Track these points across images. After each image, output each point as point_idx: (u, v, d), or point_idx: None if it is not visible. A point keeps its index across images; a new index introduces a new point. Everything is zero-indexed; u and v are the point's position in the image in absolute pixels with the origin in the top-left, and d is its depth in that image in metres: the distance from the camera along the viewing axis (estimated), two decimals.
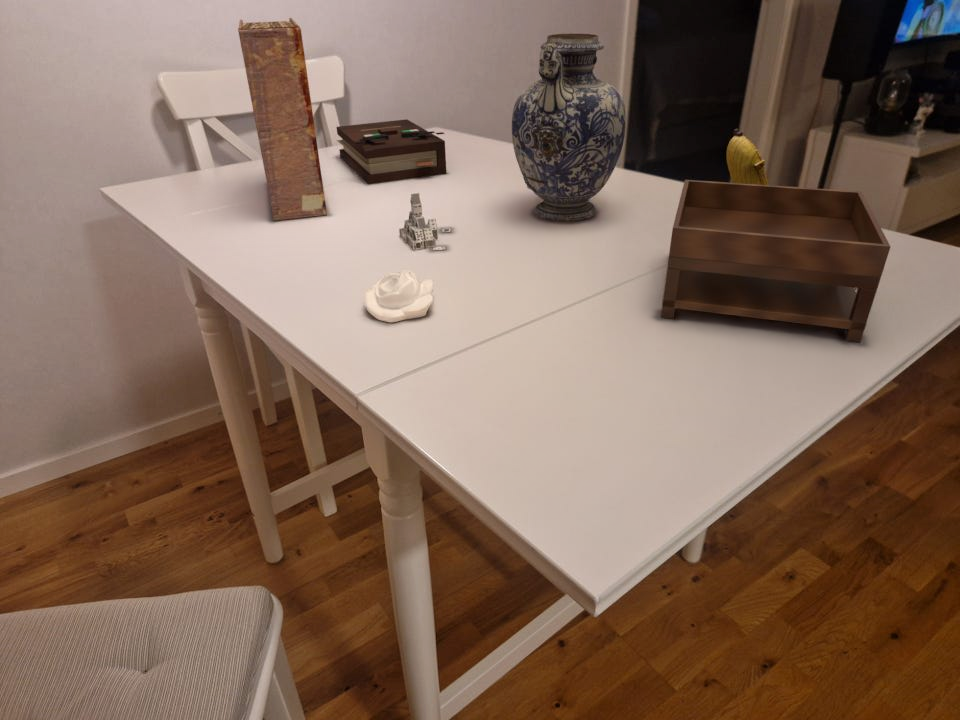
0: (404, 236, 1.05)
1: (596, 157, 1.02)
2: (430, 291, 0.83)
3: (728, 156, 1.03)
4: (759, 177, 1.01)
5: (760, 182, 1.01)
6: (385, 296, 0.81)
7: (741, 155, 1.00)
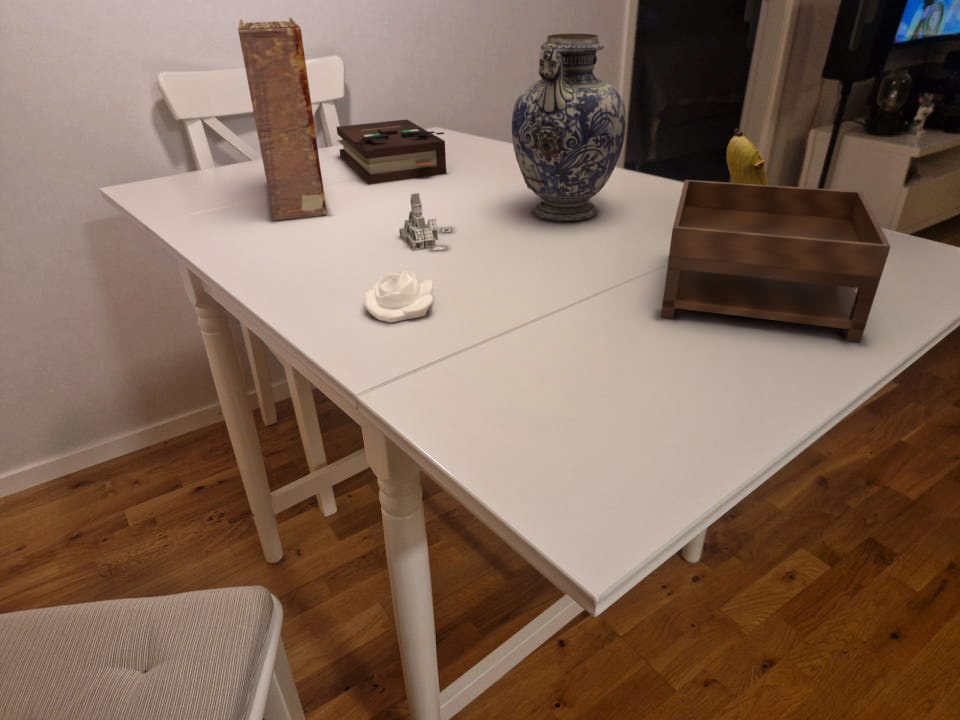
0: (404, 236, 1.05)
1: (596, 157, 1.02)
2: (430, 291, 0.83)
3: (728, 156, 1.03)
4: (759, 177, 1.01)
5: (760, 182, 1.01)
6: (385, 296, 0.81)
7: (741, 155, 1.00)
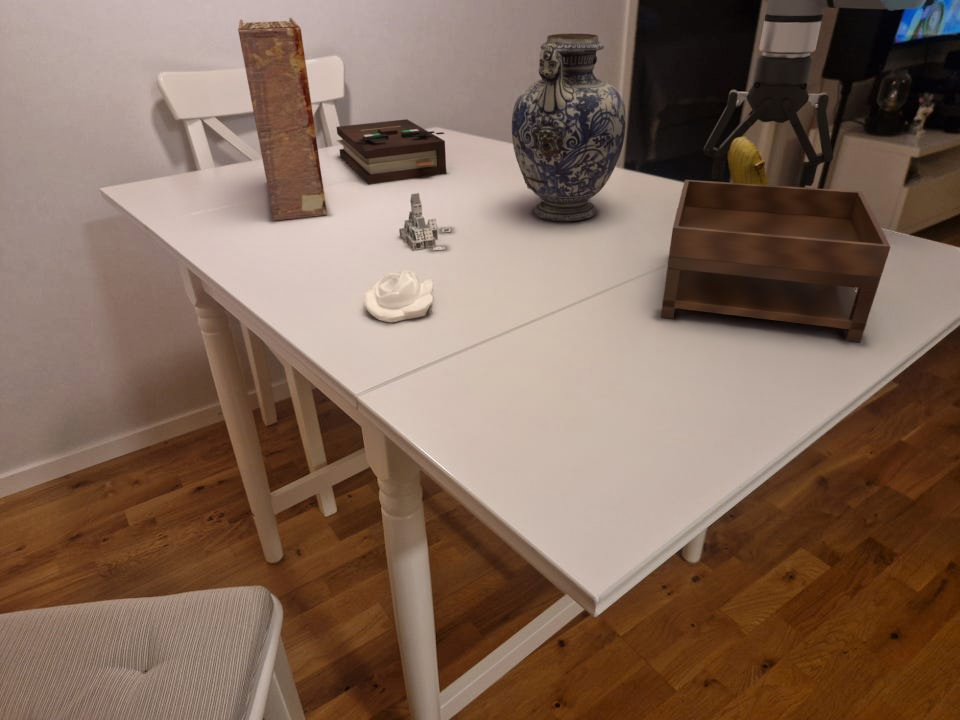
0: (404, 236, 1.05)
1: (596, 157, 1.02)
2: (430, 291, 0.83)
3: (728, 156, 1.03)
4: (759, 177, 1.01)
5: (761, 182, 1.01)
6: (385, 296, 0.81)
7: (742, 154, 1.00)
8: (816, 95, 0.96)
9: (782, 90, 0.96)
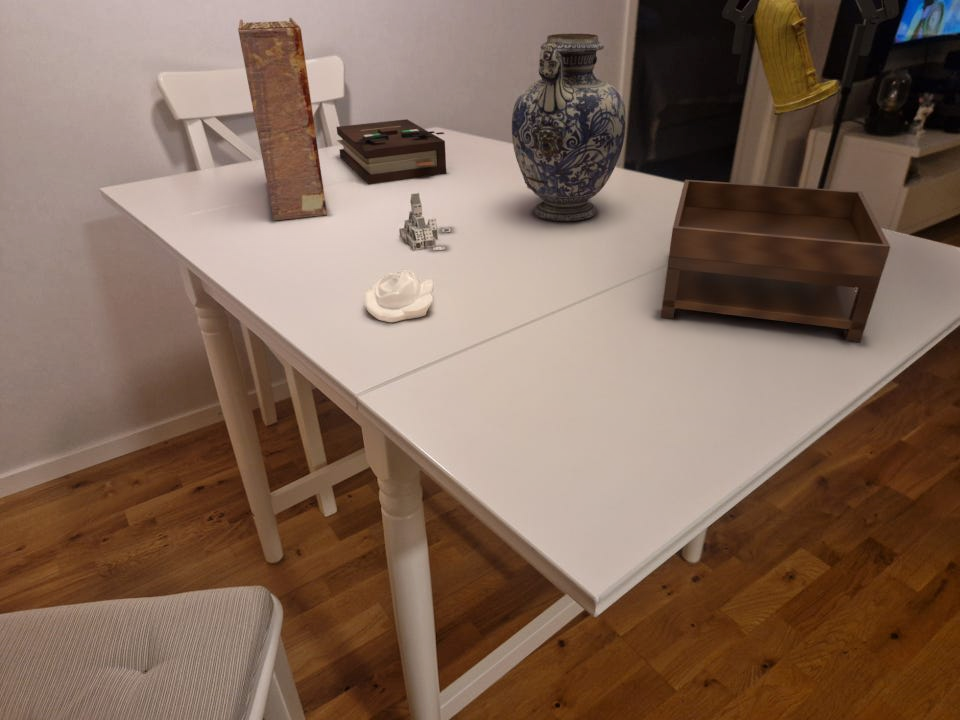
0: (404, 236, 1.05)
1: (596, 157, 1.02)
2: (430, 291, 0.83)
3: (756, 18, 0.77)
4: (798, 43, 0.75)
5: (799, 50, 0.76)
6: (385, 296, 0.81)
7: (774, 11, 0.75)
8: None
9: None
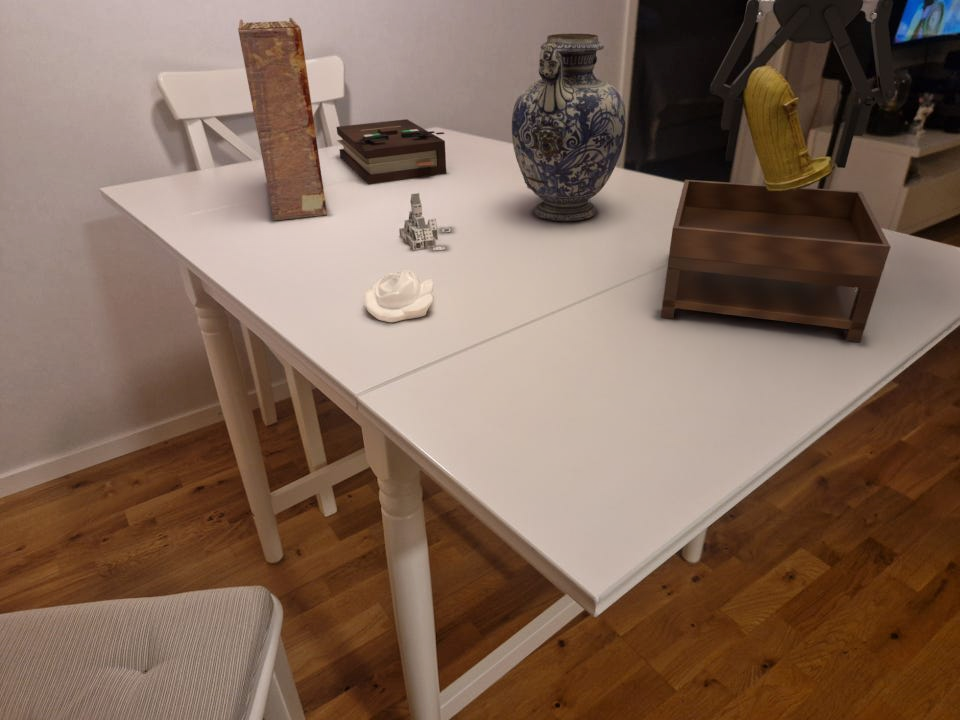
0: (404, 236, 1.05)
1: (596, 157, 1.02)
2: (430, 291, 0.83)
3: (745, 95, 0.73)
4: (790, 123, 0.71)
5: (791, 130, 0.72)
6: (385, 296, 0.81)
7: (765, 91, 0.71)
8: (874, 0, 0.66)
9: None
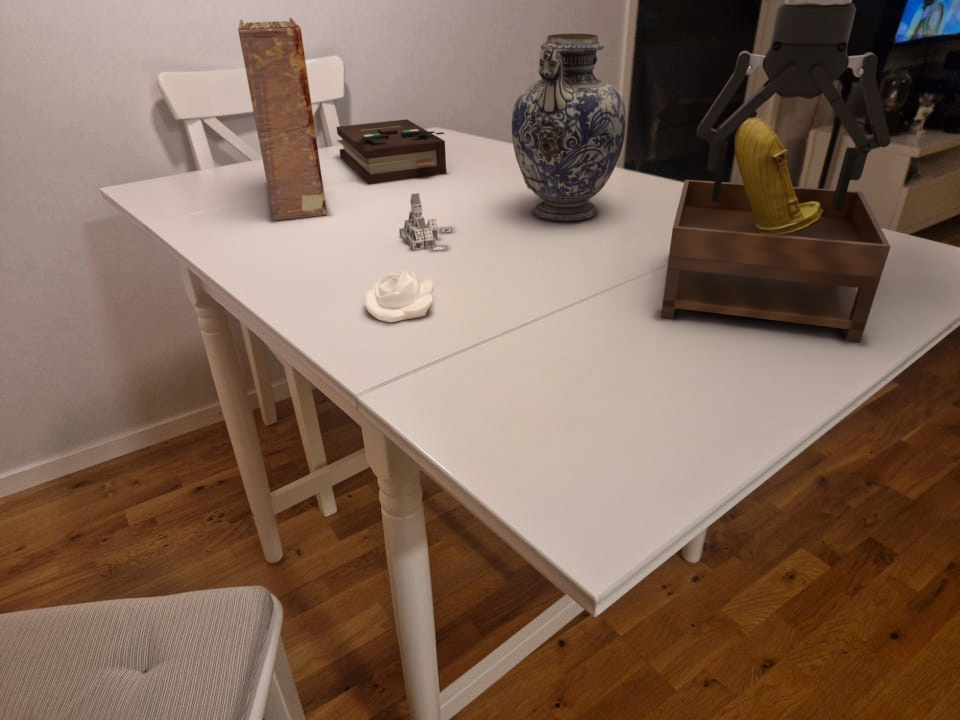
0: (404, 236, 1.05)
1: (596, 157, 1.02)
2: (430, 291, 0.83)
3: (737, 145, 0.76)
4: (779, 173, 0.74)
5: (781, 180, 0.75)
6: (385, 296, 0.81)
7: (755, 142, 0.74)
8: (859, 57, 0.69)
9: (812, 53, 0.69)
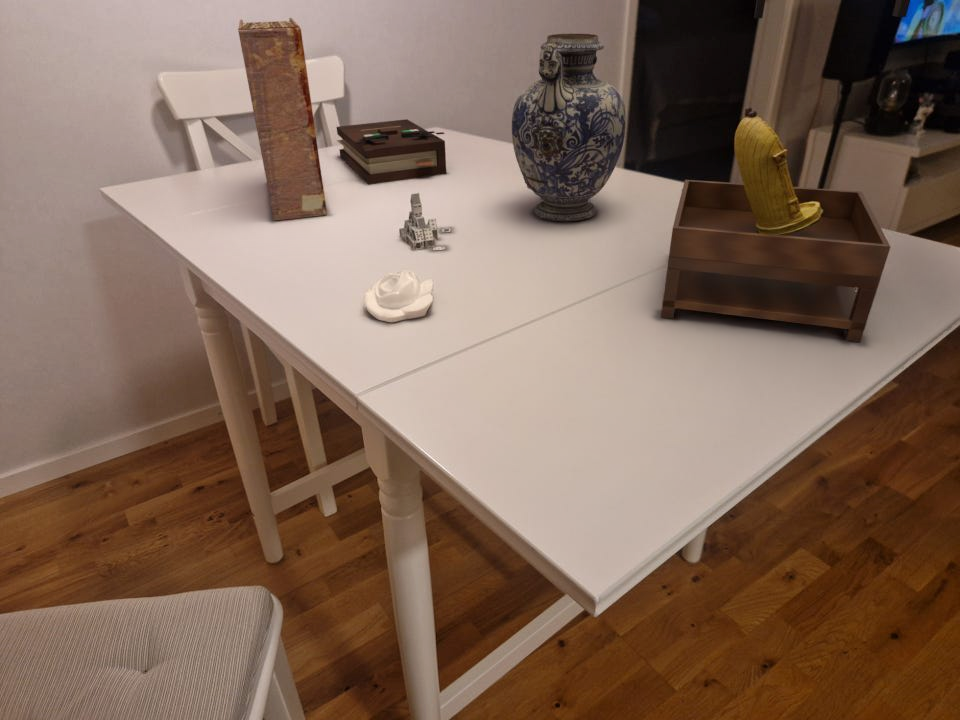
0: (404, 236, 1.05)
1: (596, 157, 1.02)
2: (430, 291, 0.83)
3: (737, 145, 0.76)
4: (779, 173, 0.74)
5: (781, 180, 0.75)
6: (385, 296, 0.81)
7: (755, 142, 0.74)
8: None
9: None
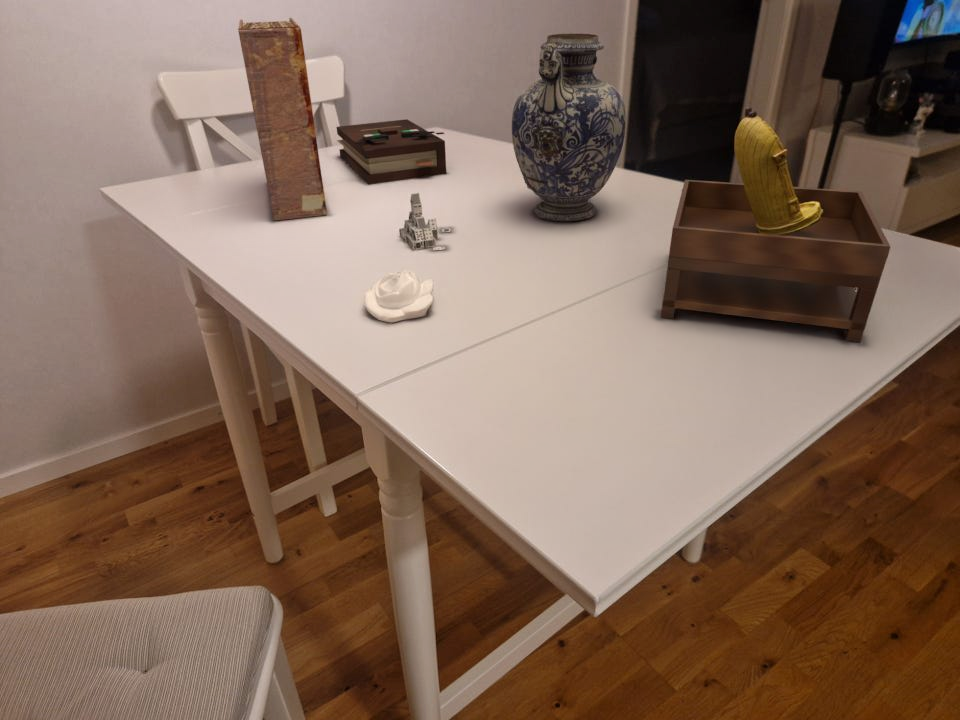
0: (404, 236, 1.05)
1: (596, 157, 1.02)
2: (430, 291, 0.83)
3: (737, 145, 0.76)
4: (779, 173, 0.74)
5: (781, 180, 0.75)
6: (385, 296, 0.81)
7: (755, 142, 0.74)
8: None
9: None
